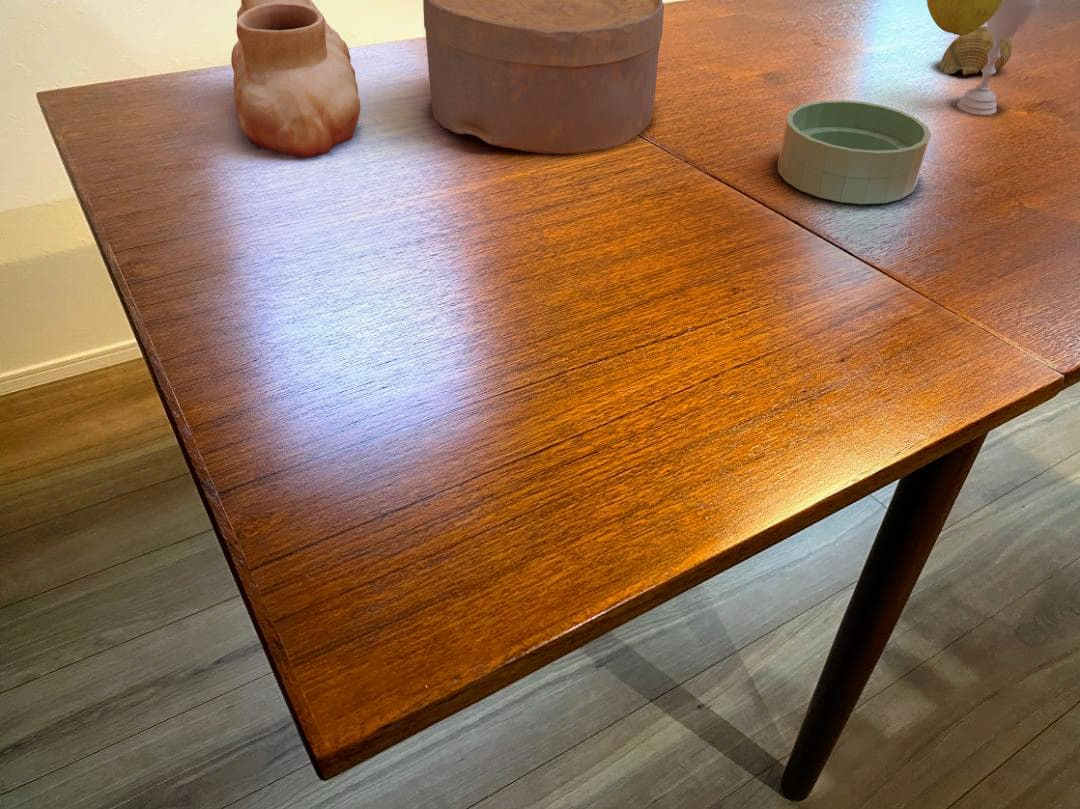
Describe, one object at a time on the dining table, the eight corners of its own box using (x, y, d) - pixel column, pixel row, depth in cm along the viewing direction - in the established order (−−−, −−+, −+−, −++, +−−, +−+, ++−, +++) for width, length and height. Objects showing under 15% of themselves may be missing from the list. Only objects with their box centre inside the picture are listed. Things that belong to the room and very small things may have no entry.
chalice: (956, 95, 115) (1003, -57, 104) (1011, 107, 112) (1066, -49, 101) (940, 112, 110) (987, -46, 99) (996, 125, 107) (1052, -37, 96)
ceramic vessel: (343, 78, 117) (327, -46, 107) (376, 156, 97) (361, 12, 88) (234, 88, 113) (209, -40, 104) (246, 170, 94) (216, 23, 85)
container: (475, 175, 93) (472, 25, 84) (398, 96, 113) (389, -32, 104) (699, 142, 103) (718, 4, 94) (592, 75, 122) (599, -44, 113)
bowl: (904, 158, 99) (919, 105, 95) (922, 215, 88) (940, 158, 84) (775, 147, 101) (785, 95, 97) (777, 202, 90) (789, 145, 86)
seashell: (951, 108, 123) (1000, 75, 116) (920, 68, 122) (967, 32, 115) (981, 78, 127) (1030, 44, 120) (951, 39, 127) (998, 3, 120)
